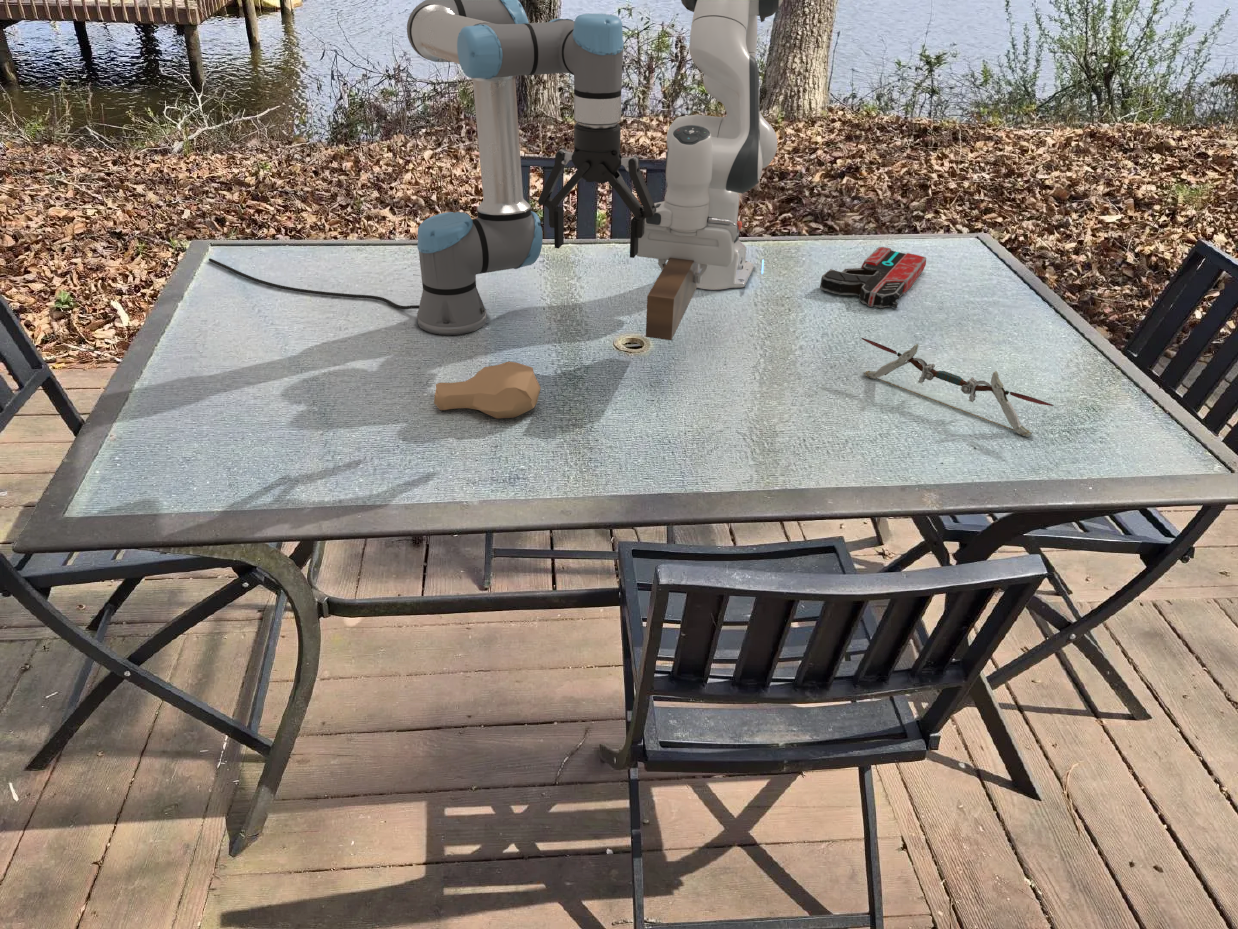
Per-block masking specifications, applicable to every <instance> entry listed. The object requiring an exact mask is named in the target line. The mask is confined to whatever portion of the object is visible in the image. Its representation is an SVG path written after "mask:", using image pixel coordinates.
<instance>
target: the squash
mask: <svg viewBox="0 0 1238 929" xmlns="http://www.w3.org/2000/svg"><path fill="white" fill-rule="evenodd" d="M541 388H542V387H541V385H540V383H539V381H538V379H537V377H536V375H535V372H534V368H533V367H532V366H529V365H526V364H523V363H520V362H516V361H515V362H514V361H511V360H510V361H506V362H502V363H499V364H495V365H494V364H493V365H489V366H484V367H482V368H481V369H480V370H478V371H477V372H476V374H475V375H473V376H472V377H470V378H469V379H467V380H464V381H457V382H455V381H454V382H437V383H435V392H434V398H433V404H434V405H435V406H436V407H437V408H438V409H439V410H440V411H447V410H453V409H456V410H457V409H471V410H476V411H480V412H482V413H483V414H485V415H488V416H490V417H493V418H494V419H515V418H517V417H519V416H522V415H523V414H525V413H528V412H530V411H531V410H533V409H534V408H535V407H536V405H537V403H538V402H539V397H540V392H541Z"/></svg>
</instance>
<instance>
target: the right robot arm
mask: <svg viewBox="0 0 1238 929" xmlns="http://www.w3.org/2000/svg"><path fill="white" fill-rule="evenodd" d="M680 2H681V4H682V5H683V7H684V8H685V9H686V10H687V11H689V12H692V13H693V15H692V21H691V26H690V33H689V45H688V46H689V48H688V49H689V50H688V52H689V55H690V57H691V60H692V62H693V63H694V64H693V65H695V66H696V68H697V69H698V70H699V71H700V72H702V73H703V80H702V82H703V87H704V89H705V91H706V92H707V94H709V95H710V96H711V97H712V98H713V99H715V100H716V101H718V102H719V103H721V104H722V106H723V107H724V109H725V112H726V116H716V115H715V116H714V115H705V114H690V115H683V116H678V117H676V118H675V119H674V120H673V121H672V122H671V124H670V125H669V127H668V130H667V134H666V147H667V150H666V154H665V163H664V164H665V165H664V167H665V168H664V172H665V180H666V185H667V187H666V191H665V194H664V200H663V201H659V202H654V205H655V207H656V212H655V214H654V215H653V216H652V217H650V218H649V217H648V218H645V229H644V235H643V236H642V238H638V253H637V255H636V257H639V258H648V259H654V260H655V259H656V260H658V261H657V265H658V267H659V268H660V270H661V271H662V270H663V268H664V267H665V265H666V263H667V261H668V260H669V258H677V259H686V260H694V263H698V273H696V272H695V274H694V280H693V283H697V288H696V289H701V290H712V291H713V290H714V291H717V290H726V289H733V288H734V289H739V288H744V287H745V286H746V284H747V283H748V280H749V279H750V276H751V274H752V272H753V270H754V264H753V262H750V261H747V260H746V259H747V258H746V257H747V247H746V246H745V244H743V242H742V241H741V240H740V230H741V229H742V227H743V221H741V220H738V219H739V208H740V201H741V200H740V194H745V193H747V192H749V191H751V190H752V189H753V188H754V187H756V186H757V185H758V184H759V182H760V179H761V177H762V173H763V169H766V168H767V167H768V166H769V165H771V163H772V161H773V160H774V159H775V156H776V155H777V152H778V137H777V134H776V132H775V130H774V128H773V126H772V125H771V123H769V122H768V121H767V120H766V119H765V118H764V116H763V115H762V113H761V111H760V107H761V106H760V76H759V75H760V74H759V66H758V62H757V58H756V57H757V56H756V55H757V47H758V46H757V45H758V17H759V19H760V23H764V22H765V20H766V19H767V18H770V17H771V16H773V15H775V13H777V12H778V11H779V10H780V8H781V5H782V3H783V2H784V0H680ZM764 262H765V259H762V261H761V275H764Z"/></svg>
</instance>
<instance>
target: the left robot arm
mask: <svg viewBox="0 0 1238 929" xmlns="http://www.w3.org/2000/svg"><path fill="white" fill-rule="evenodd" d="M406 35H407V39H408V41H409V44H410V46H411V48H412V49H413V50H414V52H415V53H416V54H417V55H418V56H420V57H421V58H423V59H425V60H428V61H430V62H435V63H454V64H457V65H459V67H460V68H461V70H462V71H463V74H464V75H465V76H466V77H467V78H470V79H471V80H472V88H473V98H474V111H475V122H476V130H477V144H478V155H479V165H480V166H479V168H480V177H481V178H480V179H481V188H482V190H481V191H482V197H483V198H482V199H483V200H482V201H481V202H480V203H479V205H478V206H477V210H476V212H477V218H472V217H471V216H470V214H468V213H466V212H463V211H456V212H453V211H446V212H442V213H441V212H440V213H438V214H435V215H432V216H430V217H427V218H426V219H424V220H423V221H422V222H421V223H420V224H419V226H418V227H417V246H416V248H417V250H418V258H419V267H420V275H421V276H420V278H421V284H422V292H421V297H420V302H419V304H417V305H400V304H397V303H395V302H393V301H391V300H390V299H387V298H385V297H382V296H378V295H368V294H355V293H353V294H352V293H344V292H332V291H331V292H330V291H320V290H313V289H305V288H297V287H292V286H287V285H283V284H278V283H273V282H269V281H266V280H262V279H259V278H256V277H253V276H251V275H248V274H246V273H243V272H241V271H240V270H237V269H235V268H233V267H231V266H228V265H227V264H224V263H222V262H220V261H218V260H215V259H213V258H211V257H210V258H208V261H209V262H210V263H212V264H215V265H216V266H219V267H221V268H223V269H225V270H228V271H229V272H231V273H234V274H235V275H239V276H241V277H243V278H245V279H248V280H251V281H253V282H256V283H259V284H262V285H265V286H268V287H272V288H275V289H276V288H277V289H281V290H287V291H292V292H297V293H303V294H311V295H320V296H331V297H343V298H352V299H353V298H354V299H370V300H376V301H381V302H384V303H386V304H388V305H390V306H392V307H394V308H396V309H399V310H417V309H418V310H417V313H416V318H417V325H418V326H419V328H420V329H421V330H423V331H424V332H427V333H430V334H433V335H440V336H459V335H465V334H469V333H473V332H476V331H477V330H480V329H481V328H483V327H484V326H485V325H486V323H487V320H488V316H487V309H486V306H485V304H484V302H483V299H482V298H481V295H480V293H479V291H478V288H477V278H476V277H477V275H480V274H487V273H494V272H501V271H506V270H512V269H513V270H518V269H521V268H524V267H528V266H532V265H534V264H535V263H536V262H537V261H538V259H539V258H540V255H541V252H542V249H543V238H544V237H543V234H544V233H543V227H542V226H541V223H542V222H541V220H540V217H539V215H538V214H537V213H536V212H534V211H533V210H532V206H531V204H530V203H529V202H527V200H526V199H525V198H524V190H523V189H524V188H523V175H522V160H521V145H520V130H519V129H520V128H519V117H518V116H519V114H518V100H517V86H516V84H517V83H516V79H517V77H518V76H519V77H520V76H538V75H540V76H541V75H551V74H552V75H553V74H569V75H572V76H573V101H574V102H573V120H574V121H575V122H576V123H575V124H574V126H573V140H574V141H573V147H574V150H573V152H572V151H568V150H567V149H566V148H564V147H562V148H560V149H559V150H557V151H556V152H555V156H554V165H553V167H552V170H551V171H550V172H549V176H548V178H547V180H546V182H545V184H544V186H543V188H542V190H541V192H540V195H539V197H538V199H537V203H538V205H539V206H544V207H546V208H547V209H548V225H549V228H552V229H553V230H554V232H553V235H554V237H553V238H554V241H553V242H554V249H559V250H560V248H561V247H562V246H564V243H565V242H564V240H565V238H564V237H565V236H564V235H565V233H564V206H560V205H561V203H562V202H563V201H564V199H565V198H566V197H567V196H568V195H569V194H570V192H571V191H572V190H573V189H574V188H575V187H576V186H577V184H578V183H579V182H580V181H581V180H582V179H583V180H584V181H585V182H586V183H594V182H596V183H598V184H603V185H605V183H608V184H609V186H610V187H611V188H613V189H614V190H615V192H616V193H617V194H618V196H619V198H621V200H622V201H623V203H624V205H626V207H627V209H628V210H629V211H630V213H631V214H632V216H633V217H632V218H631V219H630V234H629V235H630V236H629V238H630V239H629V259H634V258H635V257H637V253H638V238H642V236H643V235H644V229H645V218H648V217H649V218H650V217H652V216H653V215H654V214H655V212H656V207H655V205H654V203H655V202H654V199H653V198H652V195H651V193H650V191H649V188H648V186H647V185H648V184H647V183H646V181H645V178H644V176H643V174H642V171H641V166H640V157H639V156H638V155H636V154H635V155H633V156H632V157H631V156H630V157H623V156H622V154H621V134H622V133H621V130H622V129H621V128H622V127H621V125H620V124H619V122H620V121H622V86H623V85H622V84H623V62H624V61H623V60H624V45H625V44H624V39H623V38H624V37H623V22H622V19H621V18H620V17H619V16H617V15H614V14H606V13H583V14H578V16H576V17H575V18H574V20H573V19H570V18H554V19H551V20H549V21H547V22H545V21H544V22H529V19H528V16H527V13H526V11H525V9H524V7H523V5H522V3H521V2H520V1H519V0H423V1H422V2H420V3H419V4H417V5H416V6H415V7H414V8H413V9H412V11H411V13H410V14H409V16H408V19H407V24H406ZM570 161H571V162H572V164H573V165H574V167H575V168H576V171H575V172H574V174H572V175H571V176H570V179H568V180H567V182H566V183H565V184H564V185H563V187H562V188H560V190H559V191H558V193H557V194H555V196H554V197H551V196H552V194H553V192H554V190H555V188H556V186H557V183H558V182H559V179H560V178H561V176H562V173H563V171H564V169H565V167H566V165H567V166H568V164H569V163H570ZM622 166H623V167H624V169H625V171H626V172H627V173H628V174H629V178H630V180H631V183H632V186H633V188H634V190H635V192H636V195H637V197H638V199H639V200H638V199H637V197H636V195H635V194H634V193H633V191H632V190H631V188H630V187H629V186H628V185H627V183H626V182H625V180H624V177H623V175H622V173H620V171H619V170H620V168H621V167H622Z"/></svg>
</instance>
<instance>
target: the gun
mask: <svg viewBox="0 0 1238 929" xmlns="http://www.w3.org/2000/svg"><path fill="white" fill-rule="evenodd" d="M926 266H927V257H925V256H923V255H919V254H914V253H910V252H906V253H905V252H901V251H896V250H892V248H891V247H886V246H878V247H877V248H876V249H875V250H874V251H873V252H872V253H871V254H870V255H869V256H868V257H866V259H864V261H863V263H862V265H861V266H860V267H854V268H844V269H843V270H842V271H839V270H835V269H832V268H830V269H829V270H828V271H826V272H825V273H824V274H822V275H821V278H820V282H819V283H820V284H819V289H820V290H822V291H824V292H828V293H831V294H835V295H841V296H859V298H858V301H860V302H861V303H862V304H863V305H867V307H870V308H872V307H875V308H879V309H882V308H888V307H889V308H892V309H893V308H894V309H897V308H898V305H899V302H897V301H898V300H899V299H900V298H901V296H904V295H905V294H906V293H907V292H908V291H909V290H910V289H911V288H912V286H913V285H914V284H915V283H916V281H917V280H918V278H920V275H921V274H922V273H923V272H924V270H925V268H926Z"/></svg>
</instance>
